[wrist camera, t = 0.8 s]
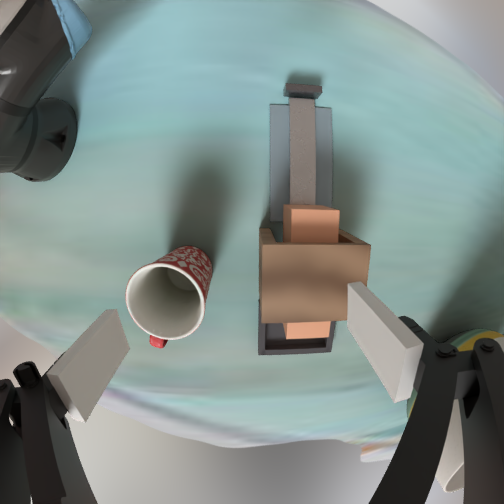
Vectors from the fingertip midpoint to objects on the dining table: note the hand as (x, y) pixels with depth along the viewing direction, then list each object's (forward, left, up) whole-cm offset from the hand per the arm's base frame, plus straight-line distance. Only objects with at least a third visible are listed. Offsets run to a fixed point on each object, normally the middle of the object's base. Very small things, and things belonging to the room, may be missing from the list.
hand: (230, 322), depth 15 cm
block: (+7, +5, -25) cm, 27 cm away
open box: (+7, +5, -26) cm, 28 cm away
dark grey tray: (+16, -1, -26) cm, 31 cm away
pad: (-4, +13, -26) cm, 30 cm away
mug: (0, -11, -27) cm, 29 cm away
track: (0, +10, -26) cm, 28 cm away
